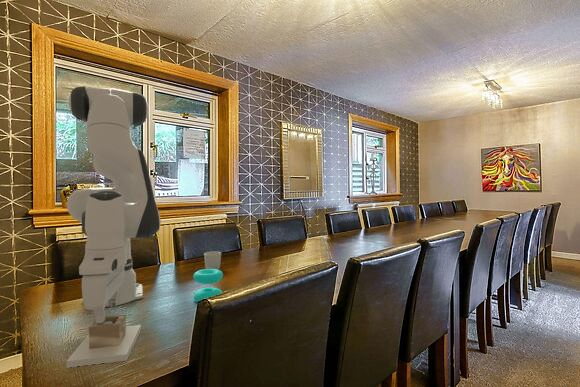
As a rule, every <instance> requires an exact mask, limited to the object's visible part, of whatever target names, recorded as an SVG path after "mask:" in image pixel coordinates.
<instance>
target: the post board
mask: <svg viewBox="0 0 580 387" xmlns="http://www.w3.org/2000/svg"><path fill="white" fill-rule="evenodd" d="M111 323H112V321H107V322H104V323H103V324H111ZM141 331H142V325H141V324H136V325H135V324H134V325H126V334H125V336H124V338H123V340H122V341H121V343H120V345H119V346H110V347H101V348H92V349H89V333H88V334H87V335H86V336H85V338H84V339H83V340H82V341H81V343H80V344H79V345H78V346H77V347H76V349H75V350H74V352H73V353H71V355H69V357H68V358H67V360H66V363H65V364H66V366H65V368H66V369H69V368H70V367H72V368H77V366H80V367H84V366H83V365H88V366H92V365H91V364H96V365H102V364H101V363H105V364H112V363H120V362H127V361H128V358H129V357H130V356H131V353H132V350H133V348H134V346H135V345H136V342H137V341H138V337H139V336H140V333H141Z"/></svg>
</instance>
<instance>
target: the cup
mask: <svg viewBox="0 0 580 387" xmlns="http://www.w3.org/2000/svg"><path fill="white" fill-rule="evenodd" d="M203 257H204V267H205V268H204V269H218V270H220V267H221V259H222V252H221V251H216V250H214V251H213V250H211V251H206V252H204V253H203Z"/></svg>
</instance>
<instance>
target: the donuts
mask: <svg viewBox="0 0 580 387" xmlns="http://www.w3.org/2000/svg"><path fill="white" fill-rule="evenodd" d="M223 277H224V273H223V271H222V270H221V269H206V268H204V269H199V270H197V271H196V272H194V273H193V276H192V278H193V280H194V282H196V283H198V284H202V285H212V284H215V283H218V282H220V281H221V280H222V279H223ZM222 292H223V291H222V290H221V289H220V288H219V287H212V286H210V287H203V288H199V289H197V290H196V291H195V292H194V293H193V300H194V301H195V302H196V303H197V302H198V301H199V300H201V299H204V298H207V297H211V296H214V295H217V294H220V293H222Z"/></svg>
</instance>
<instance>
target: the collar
mask: <svg viewBox="0 0 580 387" xmlns="http://www.w3.org/2000/svg"><path fill="white" fill-rule="evenodd" d="M126 319H127V317H126V314H116V315H106V319H105V321H104V322H107V321H112V323H111V324H103V323H104V322H103V323H96V319H95V320H94V321H93V322H92V323H91V324H90V326H88V334H89V349H92V348H101V347H110V346H119V345H120V343H121V341H122V340H123V338H124V336H125V334H126V326H127V324H126V322H127V321H126Z"/></svg>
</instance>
